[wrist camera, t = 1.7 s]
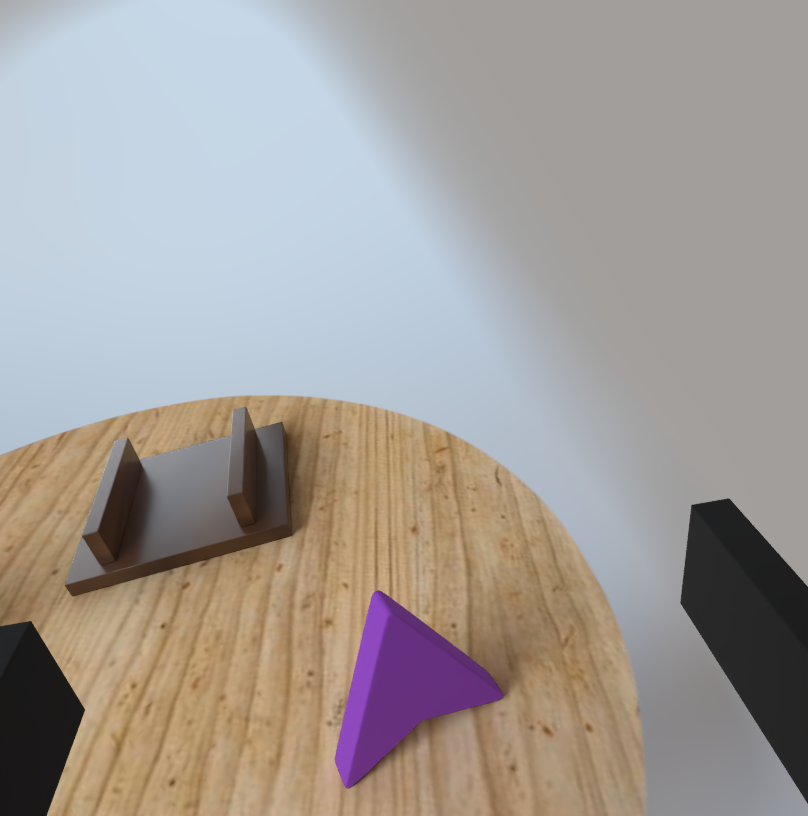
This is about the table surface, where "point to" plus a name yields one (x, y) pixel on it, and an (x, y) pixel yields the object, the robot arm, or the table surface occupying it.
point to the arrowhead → (402, 685)
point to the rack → (184, 505)
